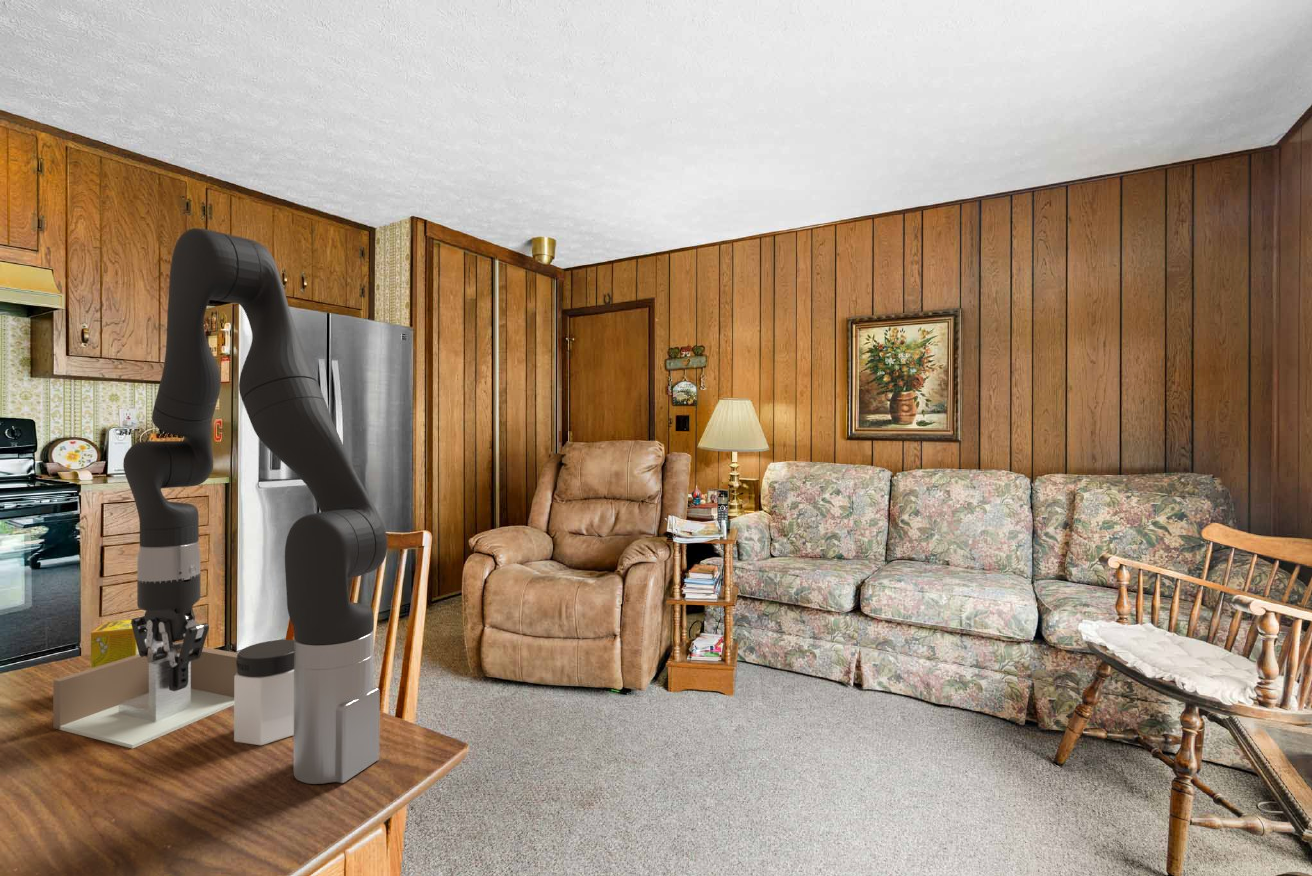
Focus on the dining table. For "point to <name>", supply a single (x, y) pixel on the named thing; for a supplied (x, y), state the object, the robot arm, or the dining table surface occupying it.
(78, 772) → the dining table surface
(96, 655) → the supplement box
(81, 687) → the tray
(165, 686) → the bracket
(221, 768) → the dining table surface
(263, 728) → the jar
